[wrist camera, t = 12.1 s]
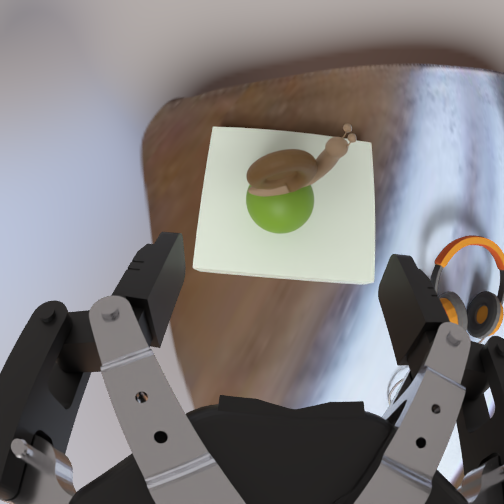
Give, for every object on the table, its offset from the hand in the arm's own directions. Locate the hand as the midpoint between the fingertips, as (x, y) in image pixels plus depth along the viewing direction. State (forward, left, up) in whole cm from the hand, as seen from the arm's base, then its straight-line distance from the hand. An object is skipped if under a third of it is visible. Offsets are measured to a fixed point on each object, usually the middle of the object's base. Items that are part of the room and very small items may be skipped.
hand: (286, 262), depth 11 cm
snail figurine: (-1, -7, -15) cm, 16 cm away
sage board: (-1, -8, -17) cm, 19 cm away
